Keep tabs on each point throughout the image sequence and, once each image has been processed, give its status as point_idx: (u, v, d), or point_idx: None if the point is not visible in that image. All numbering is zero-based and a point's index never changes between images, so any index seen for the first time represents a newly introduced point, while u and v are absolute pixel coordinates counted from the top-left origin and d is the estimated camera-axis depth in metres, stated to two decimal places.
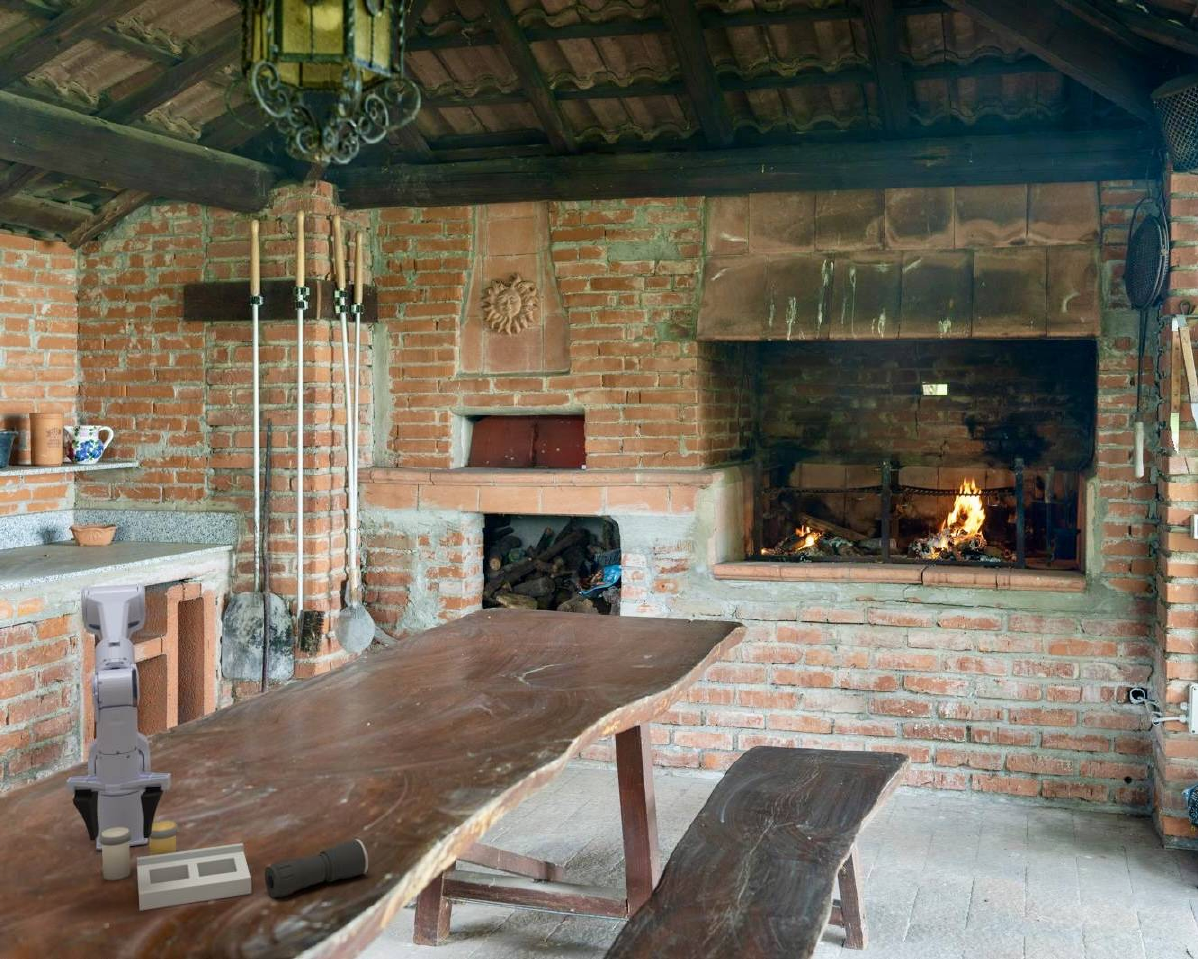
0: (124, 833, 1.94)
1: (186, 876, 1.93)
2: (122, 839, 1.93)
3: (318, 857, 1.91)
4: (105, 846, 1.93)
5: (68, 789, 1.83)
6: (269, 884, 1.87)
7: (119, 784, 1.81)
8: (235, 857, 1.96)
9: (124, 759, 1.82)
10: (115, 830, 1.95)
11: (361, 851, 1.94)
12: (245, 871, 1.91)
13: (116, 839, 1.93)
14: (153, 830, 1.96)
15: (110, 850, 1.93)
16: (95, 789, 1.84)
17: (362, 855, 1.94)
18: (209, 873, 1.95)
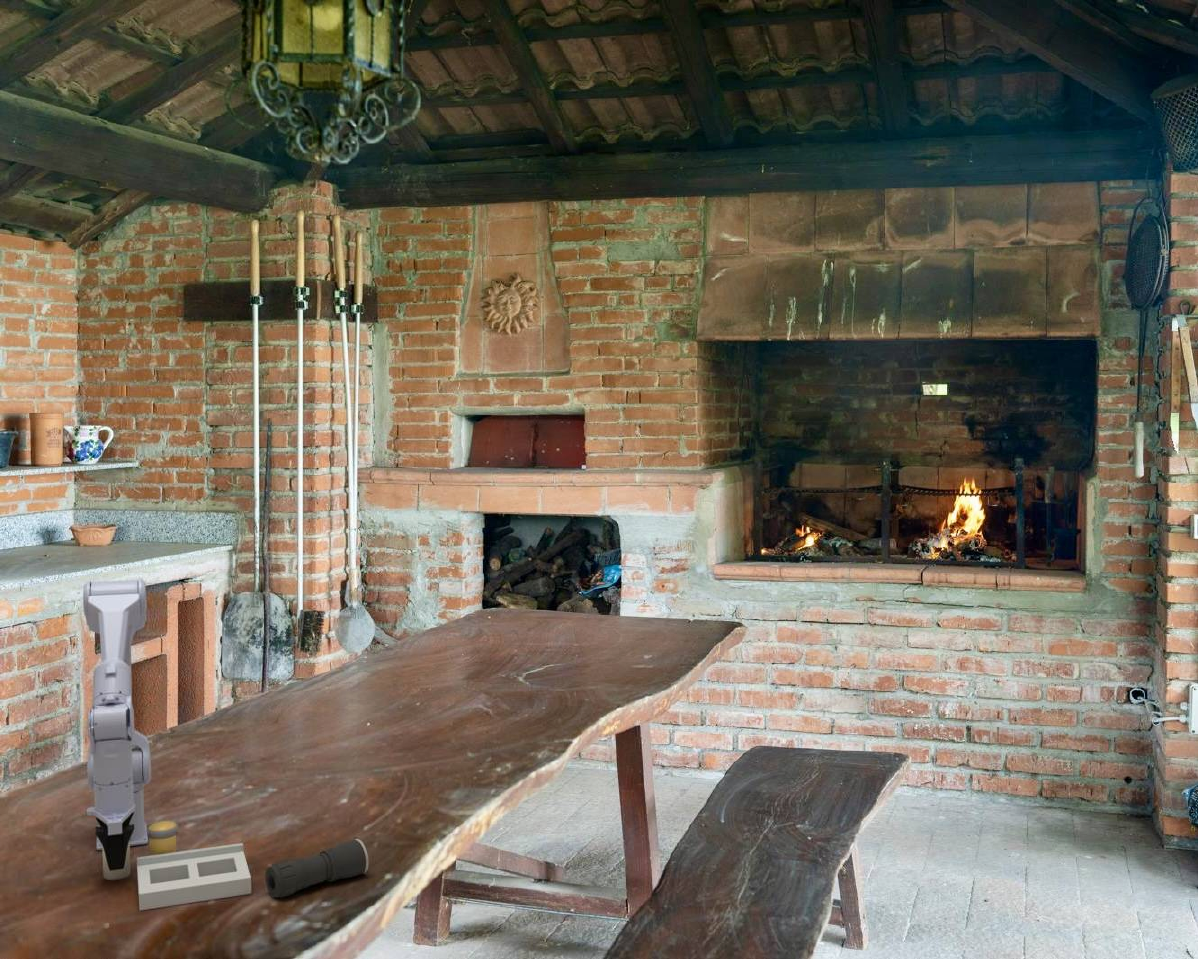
0: None
1: (186, 876, 1.93)
2: None
3: (319, 857, 1.91)
4: None
5: None
6: (270, 884, 1.87)
7: (92, 811, 1.92)
8: (235, 857, 1.96)
9: (97, 789, 1.92)
10: None
11: (361, 851, 1.94)
12: (245, 871, 1.91)
13: None
14: (153, 830, 1.96)
15: None
16: None
17: (362, 855, 1.94)
18: (209, 873, 1.95)
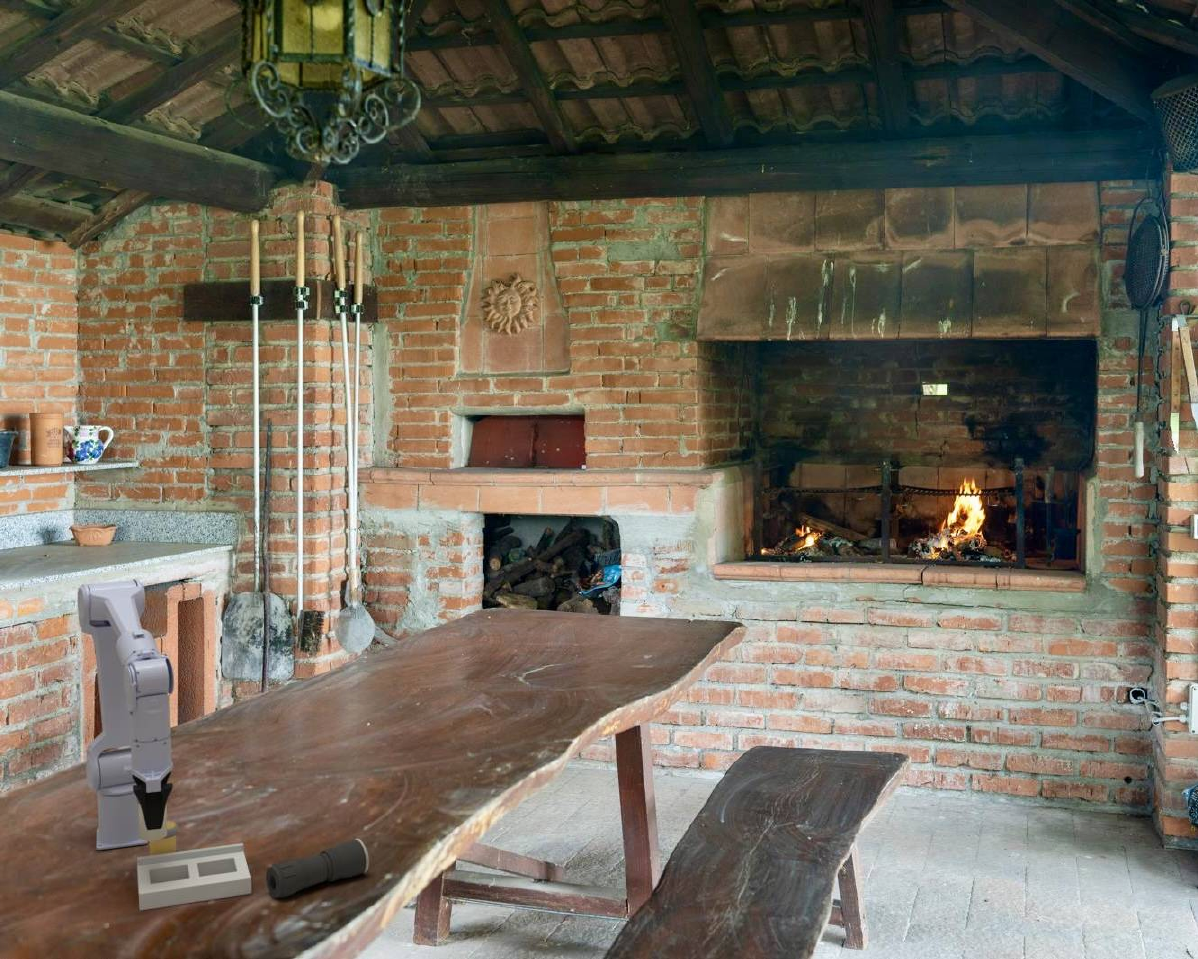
0: None
1: (186, 876, 1.93)
2: None
3: (319, 857, 1.91)
4: None
5: None
6: (271, 885, 1.87)
7: (129, 769, 1.87)
8: (235, 857, 1.96)
9: (134, 747, 1.87)
10: None
11: (362, 850, 1.95)
12: (245, 871, 1.91)
13: None
14: None
15: None
16: None
17: (363, 854, 1.94)
18: (209, 873, 1.95)
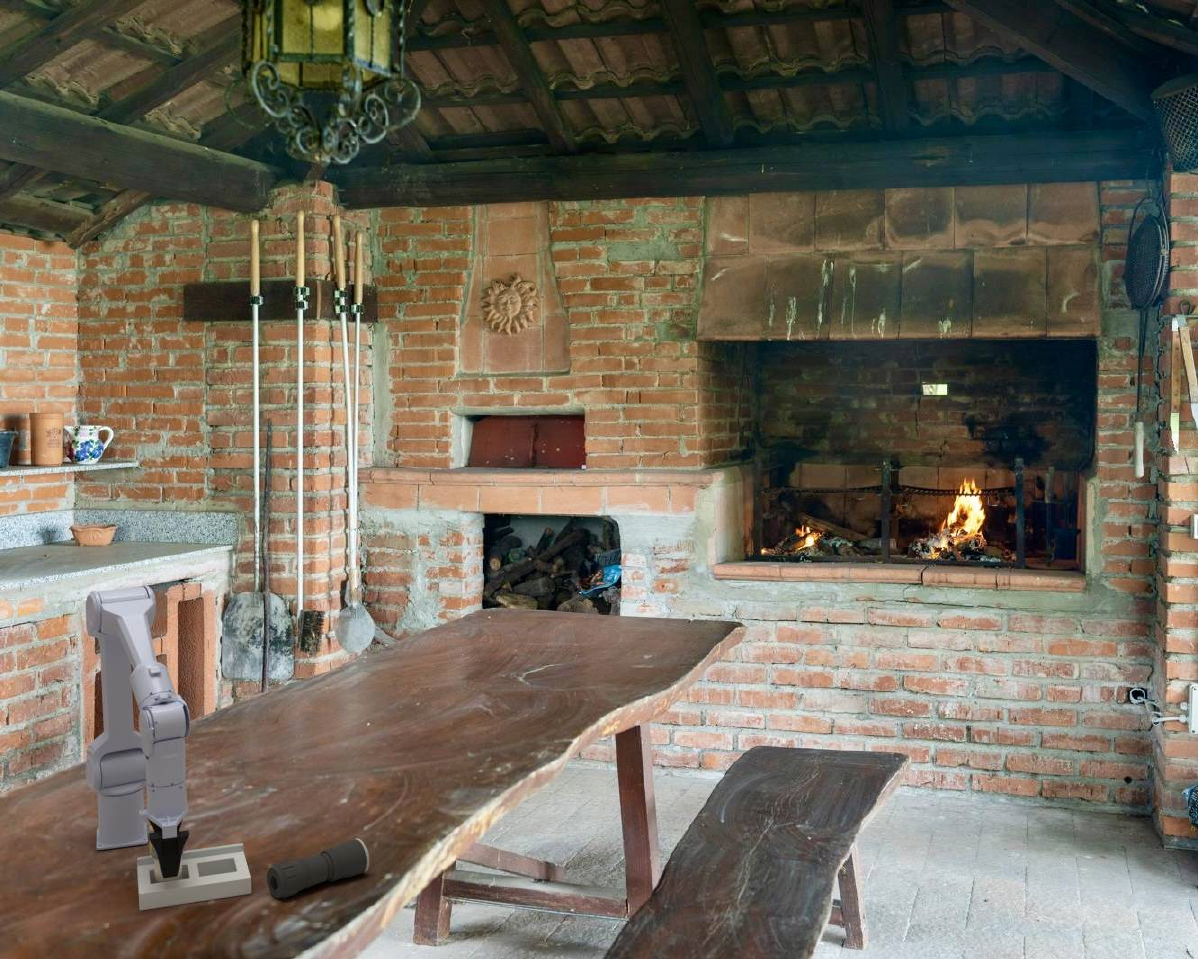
0: None
1: (186, 876, 1.93)
2: None
3: (320, 857, 1.91)
4: (157, 861, 1.88)
5: None
6: (272, 885, 1.87)
7: (145, 813, 1.87)
8: (235, 857, 1.96)
9: (150, 791, 1.86)
10: None
11: (362, 850, 1.95)
12: (245, 871, 1.91)
13: None
14: (153, 830, 1.96)
15: None
16: None
17: (363, 854, 1.94)
18: (209, 873, 1.95)
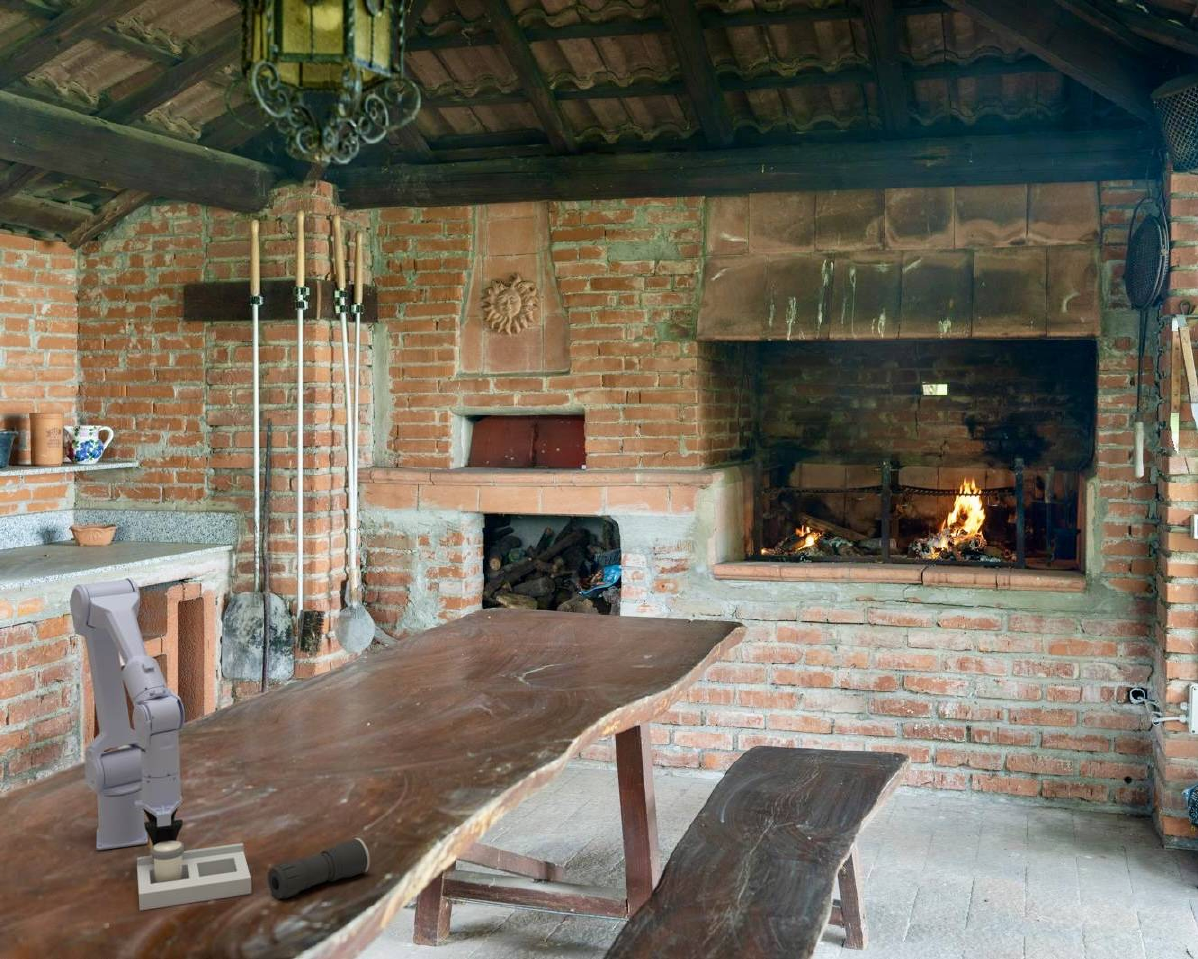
0: (177, 847, 1.89)
1: (186, 876, 1.93)
2: (174, 853, 1.88)
3: (321, 857, 1.91)
4: (157, 861, 1.88)
5: None
6: (274, 885, 1.86)
7: (140, 803, 1.95)
8: (235, 857, 1.96)
9: (145, 782, 1.94)
10: (167, 844, 1.90)
11: (362, 850, 1.95)
12: (245, 871, 1.91)
13: (168, 854, 1.87)
14: None
15: (162, 864, 1.88)
16: None
17: (364, 854, 1.95)
18: (209, 873, 1.95)
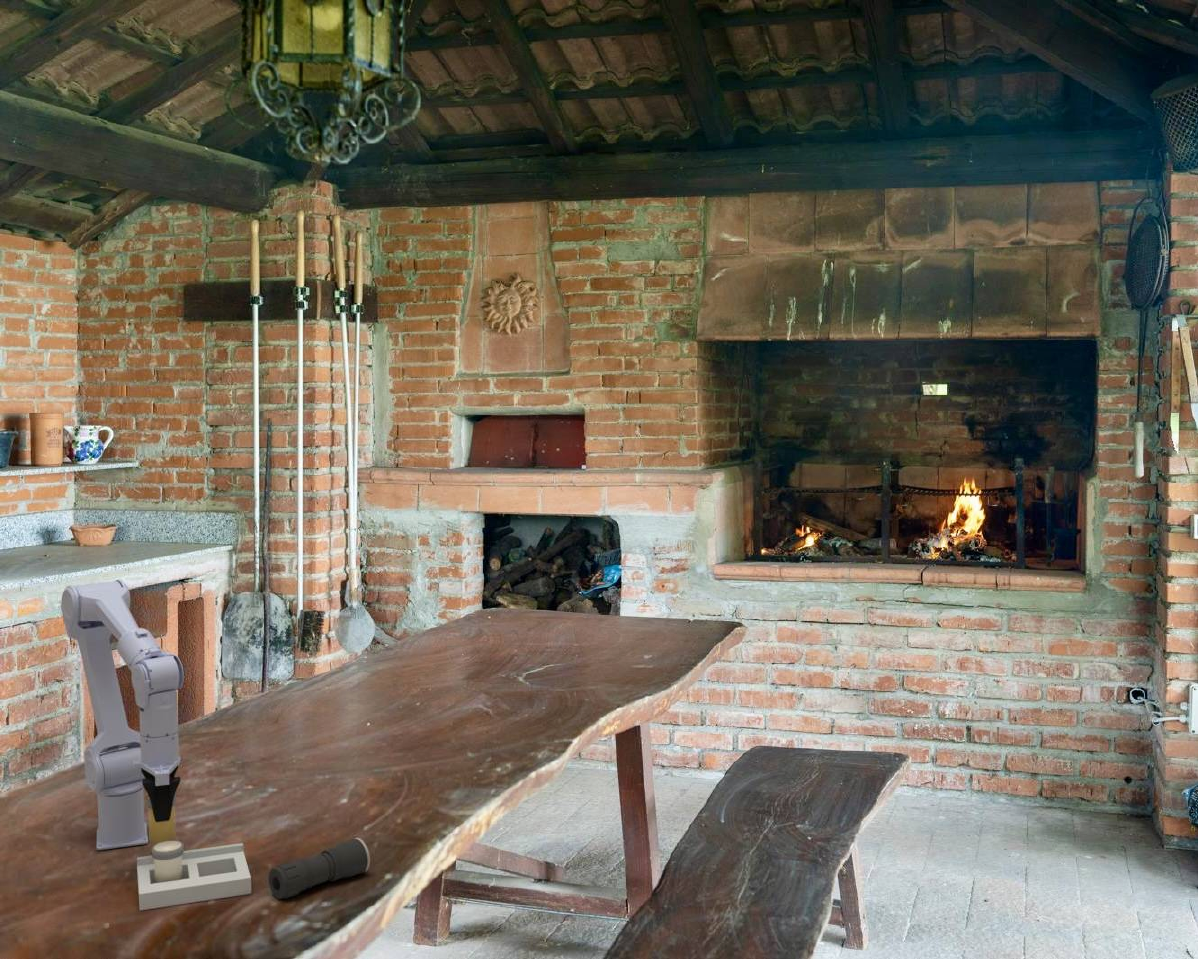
0: (177, 847, 1.89)
1: (186, 876, 1.93)
2: (174, 853, 1.88)
3: (321, 857, 1.91)
4: (157, 861, 1.88)
5: None
6: (275, 886, 1.86)
7: (139, 763, 1.94)
8: (235, 857, 1.96)
9: (143, 742, 1.94)
10: (167, 844, 1.90)
11: (363, 849, 1.95)
12: (245, 871, 1.91)
13: (168, 854, 1.87)
14: None
15: (162, 864, 1.88)
16: None
17: (364, 853, 1.95)
18: (209, 873, 1.95)
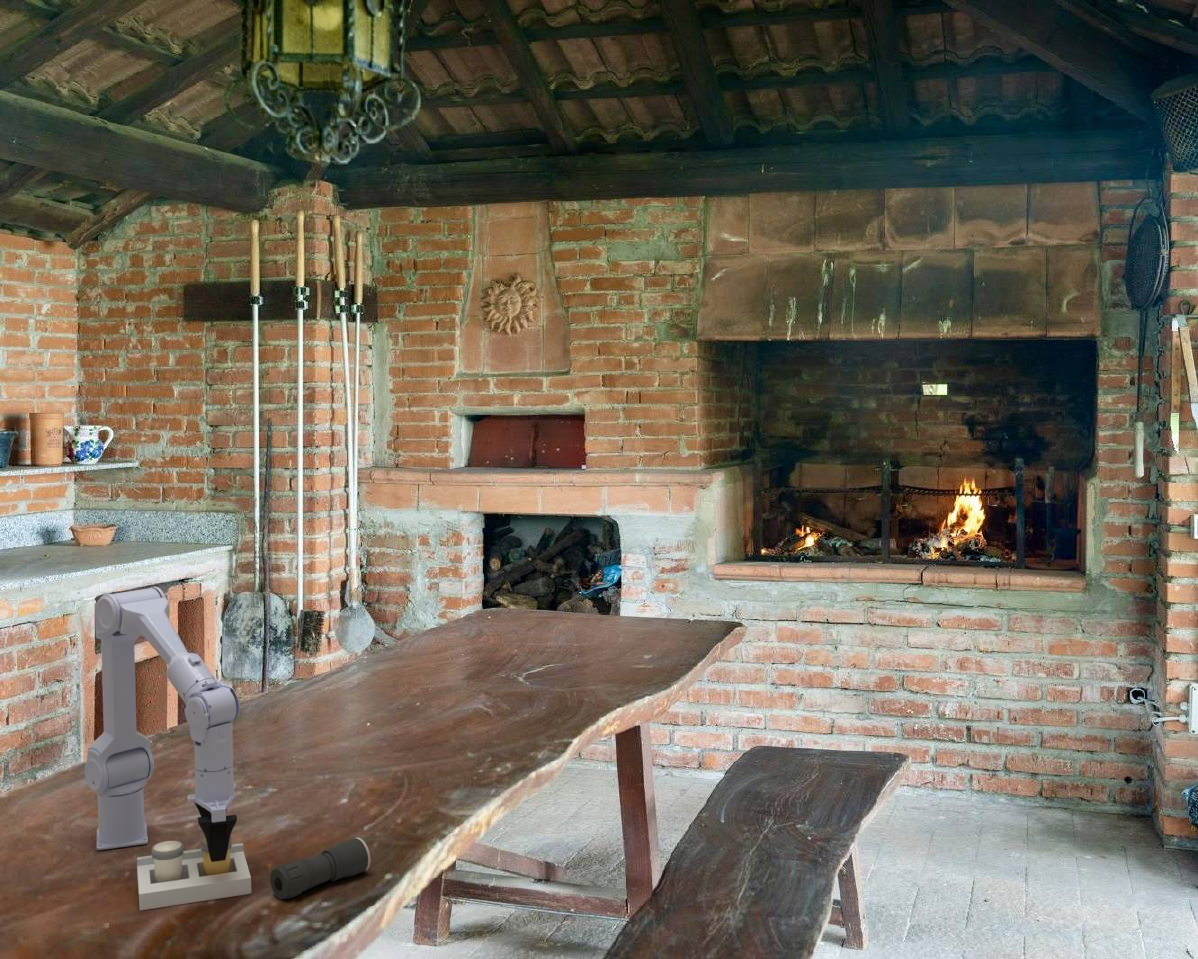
0: (177, 847, 1.89)
1: (186, 876, 1.93)
2: (174, 853, 1.88)
3: (322, 857, 1.91)
4: (157, 861, 1.88)
5: None
6: (277, 886, 1.86)
7: (193, 798, 1.89)
8: (235, 857, 1.96)
9: (198, 776, 1.89)
10: (167, 844, 1.90)
11: (363, 849, 1.95)
12: (245, 871, 1.91)
13: (168, 854, 1.87)
14: None
15: (162, 864, 1.88)
16: None
17: (365, 853, 1.95)
18: None
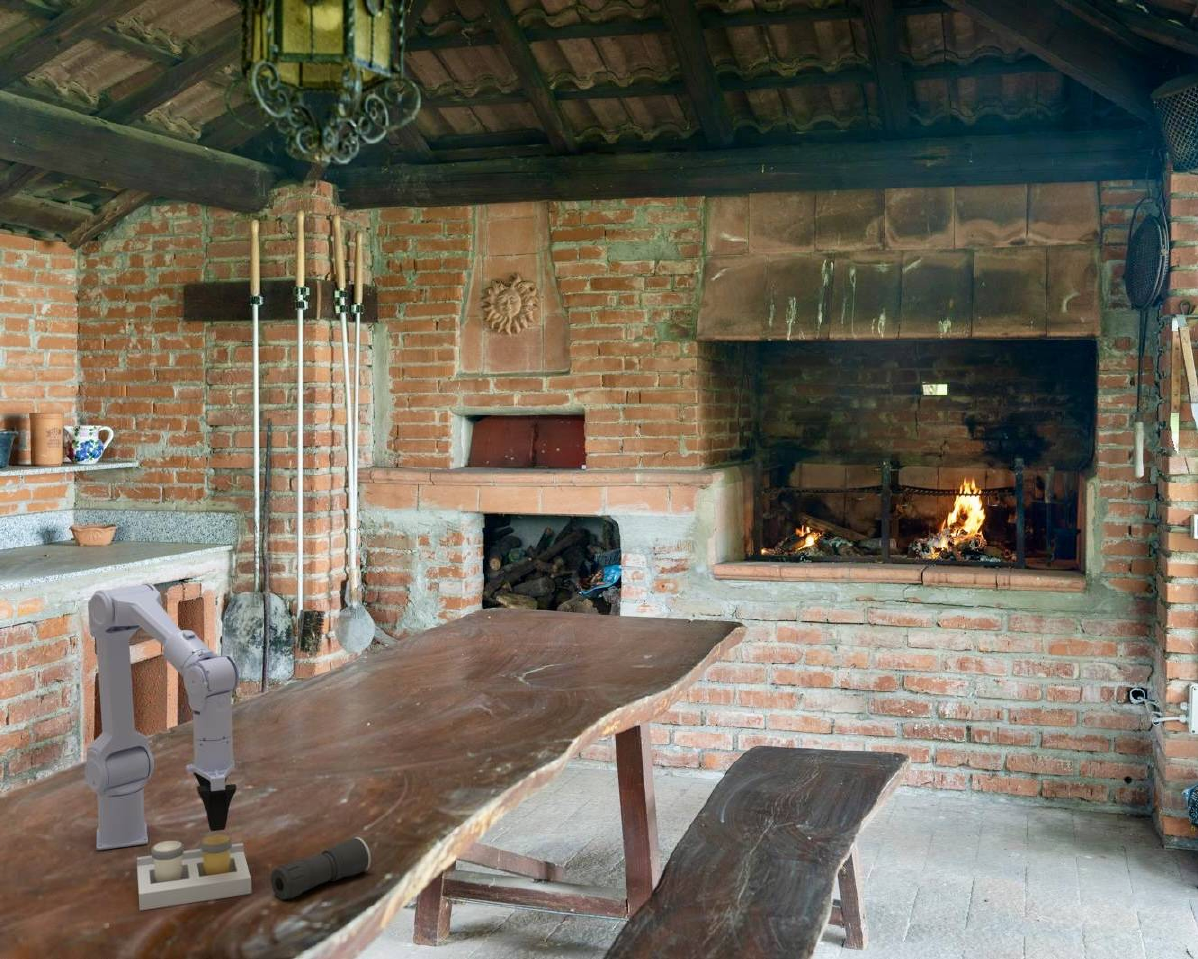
0: (176, 847, 1.89)
1: (186, 876, 1.93)
2: (174, 853, 1.88)
3: (323, 857, 1.91)
4: (157, 861, 1.88)
5: None
6: (278, 886, 1.86)
7: (192, 767, 1.89)
8: (235, 857, 1.96)
9: (197, 745, 1.88)
10: (167, 844, 1.90)
11: (363, 848, 1.95)
12: (245, 871, 1.91)
13: (168, 854, 1.87)
14: (208, 844, 1.90)
15: (162, 864, 1.88)
16: None
17: (365, 852, 1.95)
18: None
